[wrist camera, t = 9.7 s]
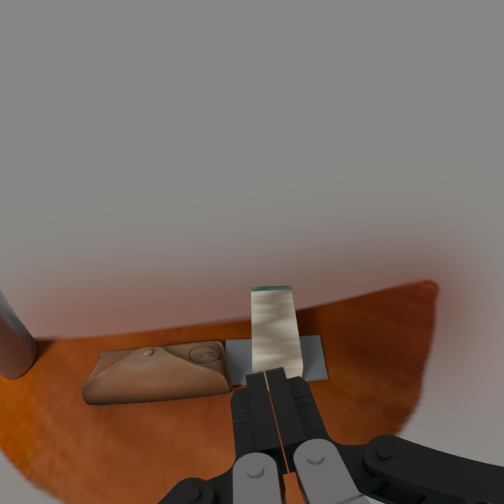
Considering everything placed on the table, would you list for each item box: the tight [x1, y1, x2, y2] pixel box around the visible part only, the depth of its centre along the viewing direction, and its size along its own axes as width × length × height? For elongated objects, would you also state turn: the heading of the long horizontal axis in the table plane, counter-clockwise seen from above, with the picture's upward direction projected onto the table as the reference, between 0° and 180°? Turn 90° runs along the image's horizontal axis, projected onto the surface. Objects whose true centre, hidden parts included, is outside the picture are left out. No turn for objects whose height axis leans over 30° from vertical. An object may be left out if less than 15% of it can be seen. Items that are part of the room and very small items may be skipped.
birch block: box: [251, 285, 303, 391], centre depth 33 cm, size 5×5×12 cm
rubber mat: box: [225, 335, 328, 385], centre depth 34 cm, size 12×6×1 cm, turn 91°
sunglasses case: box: [81, 341, 232, 405], centre depth 31 cm, size 18×7×7 cm, turn 102°
